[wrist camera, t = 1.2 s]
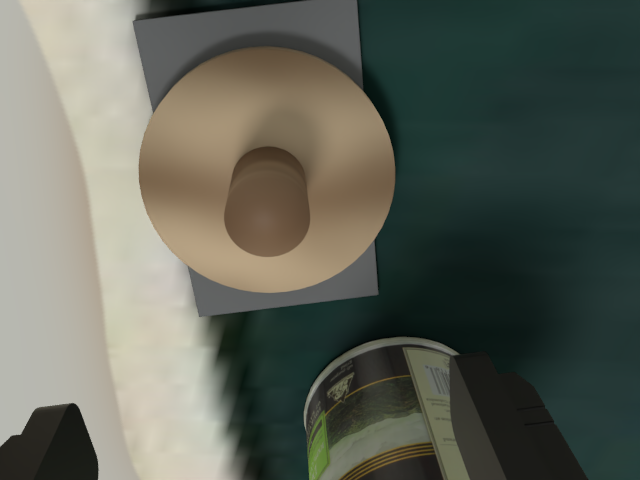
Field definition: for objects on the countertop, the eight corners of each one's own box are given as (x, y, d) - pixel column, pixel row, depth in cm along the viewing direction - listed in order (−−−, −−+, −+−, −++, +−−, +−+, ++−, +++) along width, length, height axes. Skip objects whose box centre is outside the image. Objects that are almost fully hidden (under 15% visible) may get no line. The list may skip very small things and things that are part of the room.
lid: (117, 62, 25) (79, 87, 20) (383, 31, 25) (407, 48, 20) (173, 293, 29) (152, 357, 25) (396, 265, 30) (418, 324, 25)
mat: (134, 20, 24) (132, 21, 24) (355, -6, 25) (356, -6, 24) (200, 312, 30) (199, 316, 30) (377, 290, 31) (378, 294, 30)
